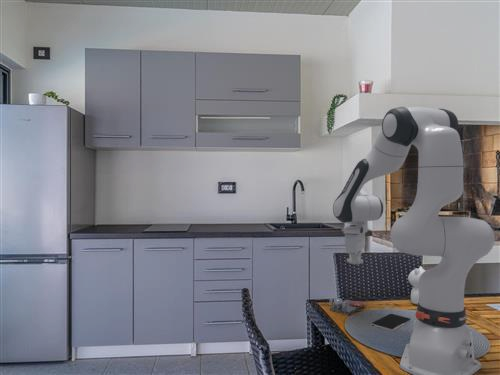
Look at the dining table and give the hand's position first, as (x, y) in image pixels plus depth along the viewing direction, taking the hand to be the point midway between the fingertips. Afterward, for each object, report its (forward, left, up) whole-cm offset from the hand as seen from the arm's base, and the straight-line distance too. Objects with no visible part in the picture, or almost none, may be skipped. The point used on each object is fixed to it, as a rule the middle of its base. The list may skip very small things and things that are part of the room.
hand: (356, 261), depth 145 cm
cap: (0, 0, -1) cm, 1 cm away
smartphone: (-9, -17, -19) cm, 27 cm away
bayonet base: (-4, +2, -18) cm, 18 cm away
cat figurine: (+19, -20, -18) cm, 33 cm away
